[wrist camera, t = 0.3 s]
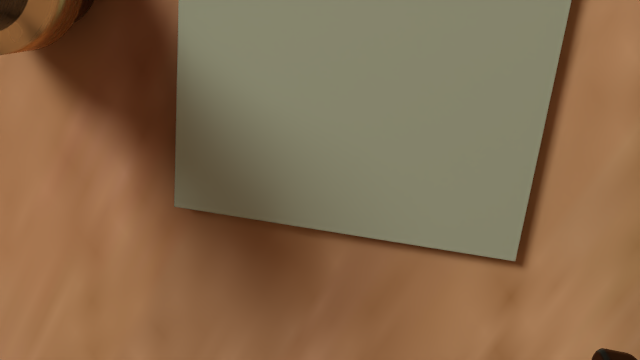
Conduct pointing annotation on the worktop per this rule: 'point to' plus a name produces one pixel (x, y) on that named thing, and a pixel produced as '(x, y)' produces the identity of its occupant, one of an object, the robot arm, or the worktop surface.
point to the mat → (367, 115)
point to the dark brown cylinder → (37, 22)
